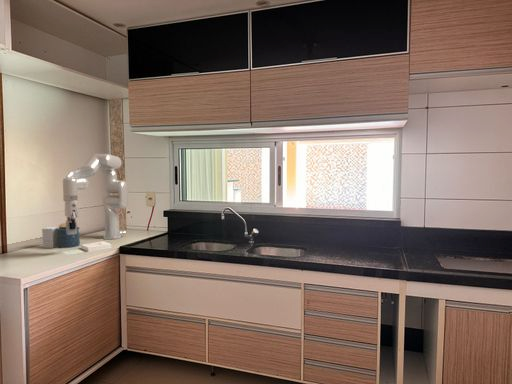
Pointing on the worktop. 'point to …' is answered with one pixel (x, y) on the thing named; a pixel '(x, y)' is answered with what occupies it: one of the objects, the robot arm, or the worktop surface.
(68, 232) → the plug
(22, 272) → the worktop surface
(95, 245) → the white flat block
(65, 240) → the canister
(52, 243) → the supplement box
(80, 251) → the mat
